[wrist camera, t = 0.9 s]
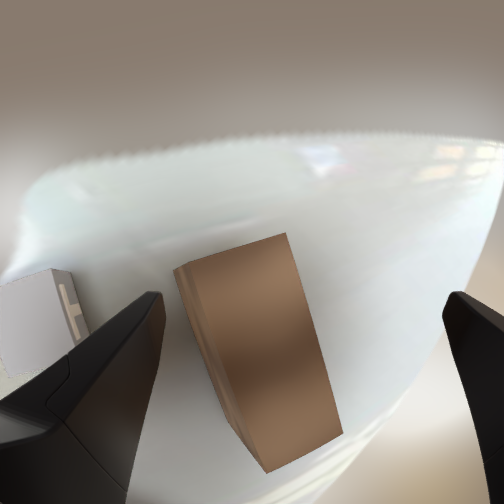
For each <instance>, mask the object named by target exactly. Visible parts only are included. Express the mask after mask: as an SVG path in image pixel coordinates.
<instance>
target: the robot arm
mask: <svg viewBox="0 0 504 504" xmlns="http://www.w3.org/2000/svg"><path fill="white" fill-rule="evenodd" d="M442 319H443V322H444V326H445V329H446V333H447V336H448V340H449V344H450V347H451V351H452V355H453V358H454V361H455V364H456V367H457V370H458V373H459V375H460V379H461V382H462V385H463V388H464V391H465V394H466V398H467V401H468V404H469V408H470V411H471V415H472V418H473V422H474V426H475V430H476V434H477V438H478V442H479V446H480V450H481V455H482V459H483V463H484V470H485V474H486V480H487V486H488V492H489V499H490V504H504V316H502V315H501V314H499V313H498V312H496V311H494V310H493V309H491V308H489V307H488V306H486V305H484V304H483V303H481V302H479V301H478V300H476V299H474V298H472V297H471V296H469V295H468V294H466V293H464V292H462V291H454V292H451V293H450V295H449V297H448V300H447V302H446V305H445V307H444V309H443V313H442ZM165 323H166V313H165V307H164V302H163V296H162V294H161V292H157V291H147V292H145V293H144V294H143V295H141V296H140V297H139V298H137V299H136V300H135V301H134V302H132V303H131V304H130V305H128V306H127V307H126V308H124V309H123V310H122V311H120V312H119V313H118V314H116V315H115V316H114V317H113V318H111V319H110V320H109V321H107V322H106V323H105V324H103V325H102V326H101V327H100V328H98V329H97V330H96V331H94V332H93V333H92V334H91V335H89V336H88V337H87V338H85V339H84V340H83V341H82V342H80V343H79V344H78V345H77V346H75V347H74V348H73V349H71V350H70V351H69V352H68V353H67V354H65V355H64V356H62V357H61V358H60V359H59V360H57V361H56V362H55V363H54V364H52V365H51V366H50V367H48V368H47V369H46V370H44V371H43V372H41V373H40V374H39V375H37V376H36V377H34V378H33V379H31V380H30V381H28V382H27V383H25V384H24V385H22V386H21V387H19V388H18V389H16V390H15V391H13V392H12V393H10V394H9V395H7V396H6V397H4V398H3V399H1V400H0V504H125V502H126V497H127V491H128V487H129V482H130V478H131V473H132V469H133V464H134V460H135V456H136V451H137V447H138V443H139V439H140V435H141V431H142V427H143V423H144V419H145V415H146V411H147V407H148V403H149V400H150V396H151V392H152V388H153V385H154V381H155V377H156V374H157V370H158V366H159V360H160V354H161V347H162V341H163V335H164V329H165Z"/></svg>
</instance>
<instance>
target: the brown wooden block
mask: <svg viewBox="0 0 504 504" xmlns="http://www.w3.org/2000/svg"><path fill="white" fill-rule="evenodd" d="M173 272H174V275H175V278H176V282H177V285H178V288H179V291H180V294H181V297H182V300H183V303H184V306H185V309H186V312H187V315H188V318H189V321H190V324H191V326H192V329H193V332H194V335H195V338H196V341H197V343H198V346H199V349H200V352H201V354H202V357H203V360H204V362H205V365H206V368H207V370H208V373H209V375H210V378H211V381H212V383H213V386H214V388H215V391H216V393H217V396H218V398H219V401H220V403H221V406H222V408H223V411H224V413H225V416H226V418H227V420H228V423H229V424H230V425H231V427H232V428H233V430H234V431H235V432H236V434H237V435H238V437H239V438H240V439H241V441H242V442H243V443H244V445H245V446H246V447H247V449H248V450H249V451H250V453H251V454H252V455H253V457H254V458H255V459H256V461H257V462H258V463H259V465H260V466H261V467H262V468H263V470H264V471H265V472H266V474H267V473H269V472H272V471H274V470H276V469H278V468H280V467H282V466H284V465H286V464H288V463H290V462H292V461H294V460H296V459H298V458H300V457H302V456H304V455H306V454H308V453H310V452H312V451H313V450H315V449H317V448H319V447H321V446H322V445H324V444H326V443H328V442H330V441H331V440H333V439H335V438H336V437H338V436H340V435H341V434H343V430H342V427H341V423H340V419H339V415H338V411H337V407H336V404H335V400H334V396H333V392H332V389H331V385H330V381H329V378H328V374H327V370H326V367H325V363H324V360H323V356H322V352H321V349H320V345H319V342H318V338H317V335H316V331H315V328H314V324H313V321H312V318H311V314H310V311H309V307H308V304H307V301H306V297H305V294H304V291H303V287H302V284H301V281H300V277H299V274H298V271H297V268H296V264H295V261H294V258H293V255H292V252H291V248H290V245H289V242H288V239H287V236H286V233H282V234H279V235H276V236H273V237H269V238H266V239H263V240H259V241H256V242H253V243H250V244H246V245H243V246H240V247H237V248H233V249H230V250H227V251H224V252H220V253H217V254H214V255H211V256H207V257H204V258H201V259H198V260H194V261H191V262H188V263H186V264H184V265H183V266H181V267H179V268H177V269H175V270H173Z"/></svg>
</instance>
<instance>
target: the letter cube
mask: <svg viewBox="0 0 504 504" xmlns="http://www.w3.org/2000/svg"><path fill="white" fill-rule="evenodd" d="M89 335H90V334H89V331H88V328H87V325H86V322H85V319H84V316H83V313H82V310H81V307H80V304H79V301H78V297H77V294H76V291H75V287H74V284H73V280H72V277H71V273H70V272H66V271H61V270H56V269H48V270H45V271H42V272H39V273H36V274H33V275H30V276H27V277H24V278H22V279H19V280H16V281H13V282H10V283H7V284H5V285H2V286H0V357H1V360H2V363H3V365H4V368H5V371H6V373H7V376H8V378H10V377H14V376H18V375H21V374H25V373H29V372H32V371H36V370H40V369H43V368H47V367H50V366H51V365H52V364H54V363H55V362H56V361H57V360H59V359H60V358H61V357H62V356H64V355H65V354H67V353H68V352H69V351H70V350H71V349H73V348H74V347H75V346H77V345H78V344H79V343H80V342H82V341H83V340H84V339H85V338H87V337H88V336H89Z"/></svg>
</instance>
